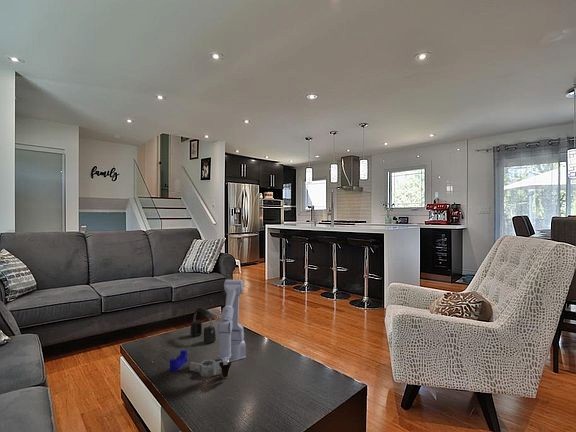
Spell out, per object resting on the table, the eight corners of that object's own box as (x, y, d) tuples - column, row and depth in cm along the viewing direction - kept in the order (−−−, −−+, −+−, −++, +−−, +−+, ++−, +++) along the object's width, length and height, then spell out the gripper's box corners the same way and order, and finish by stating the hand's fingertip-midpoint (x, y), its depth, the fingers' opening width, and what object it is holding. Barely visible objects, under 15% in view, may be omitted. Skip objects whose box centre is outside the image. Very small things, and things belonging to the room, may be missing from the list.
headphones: (189, 335, 205) (189, 305, 205) (197, 333, 209) (197, 303, 209) (208, 345, 190) (208, 312, 190) (216, 342, 194) (216, 310, 194)
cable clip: (179, 360, 170) (179, 349, 170) (186, 361, 169) (186, 350, 169) (167, 371, 158) (167, 359, 158) (175, 372, 157) (175, 360, 157)
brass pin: (227, 373, 155) (227, 358, 155) (230, 377, 152) (230, 361, 152) (219, 376, 153) (219, 360, 153) (222, 379, 149) (222, 363, 149)
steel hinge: (222, 361, 168) (222, 352, 168) (230, 370, 158) (230, 361, 158) (189, 369, 159) (189, 360, 159) (196, 380, 149) (196, 370, 149)
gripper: (216, 340, 158) (217, 366, 158) (216, 352, 144) (216, 381, 144) (230, 338, 160) (230, 365, 160) (231, 350, 146) (232, 379, 146)
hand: (225, 372), depth 152 cm, fingers open, 7 cm apart
